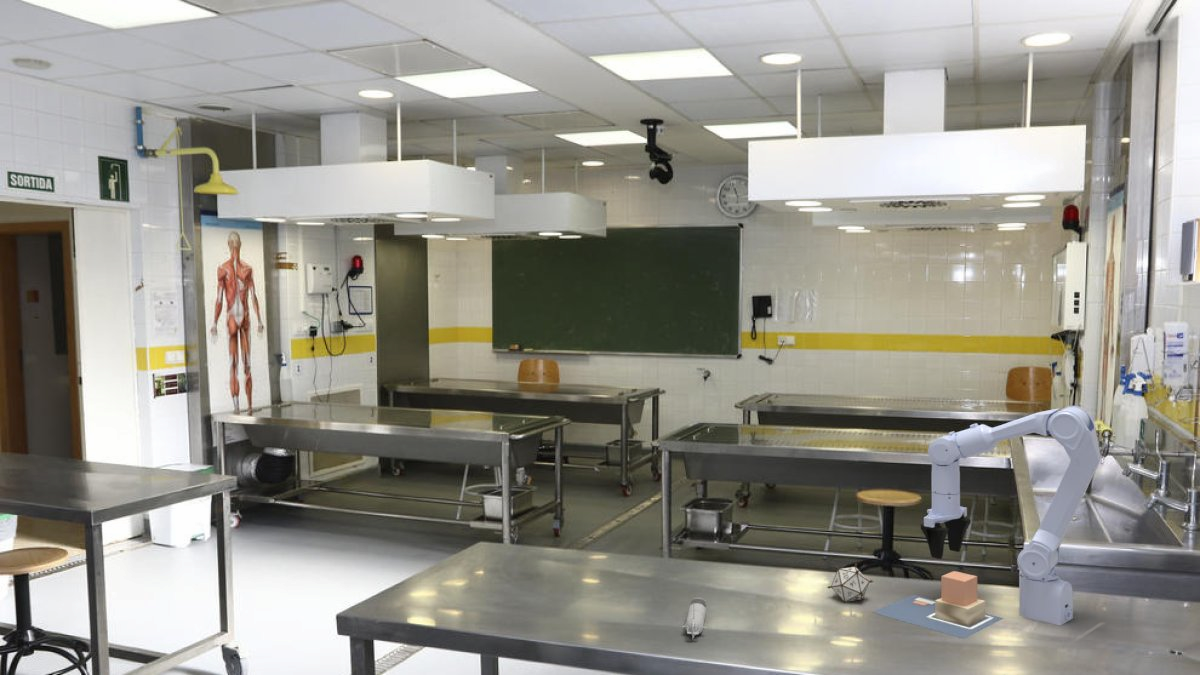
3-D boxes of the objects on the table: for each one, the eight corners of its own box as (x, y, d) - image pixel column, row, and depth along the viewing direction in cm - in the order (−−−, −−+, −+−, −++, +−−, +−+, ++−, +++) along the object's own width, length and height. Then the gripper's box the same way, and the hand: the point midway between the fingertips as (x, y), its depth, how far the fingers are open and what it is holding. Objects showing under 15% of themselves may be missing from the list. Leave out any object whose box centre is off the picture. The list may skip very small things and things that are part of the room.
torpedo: (687, 611, 194) (686, 581, 194) (709, 612, 193) (709, 581, 193) (680, 642, 176) (680, 609, 176) (705, 644, 176) (704, 610, 175)
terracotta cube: (977, 600, 184) (977, 576, 184) (964, 606, 181) (964, 581, 180) (954, 594, 188) (954, 571, 188) (941, 600, 184) (941, 576, 184)
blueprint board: (1003, 621, 184) (1003, 617, 184) (963, 642, 173) (963, 637, 173) (913, 598, 199) (913, 594, 199) (872, 615, 188) (872, 611, 188)
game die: (858, 621, 196) (875, 593, 190) (820, 605, 197) (836, 577, 191) (863, 590, 203) (879, 562, 197) (826, 575, 204) (841, 547, 198)
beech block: (985, 617, 184) (985, 600, 184) (968, 626, 179) (968, 609, 179) (952, 609, 189) (952, 592, 189) (935, 617, 185) (935, 600, 184)
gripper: (945, 484, 203) (945, 544, 203) (910, 494, 193) (911, 557, 194) (975, 489, 197) (976, 550, 198) (941, 499, 188) (941, 564, 189)
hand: (945, 554), depth 196 cm, fingers open, 7 cm apart
